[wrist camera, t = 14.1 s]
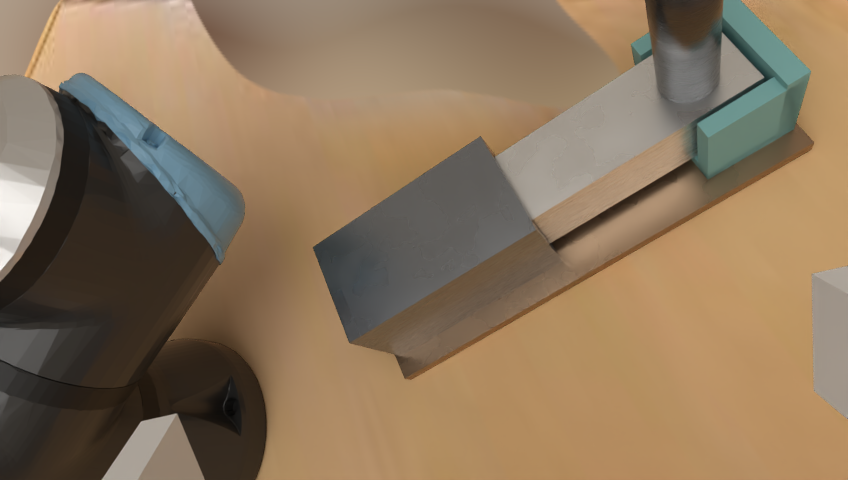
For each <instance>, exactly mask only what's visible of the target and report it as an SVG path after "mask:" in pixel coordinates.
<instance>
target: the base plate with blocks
mask: <svg viewBox="0 0 848 480" xmlns="http://www.w3.org/2000/svg"><path fill="white" fill-rule="evenodd" d="M813 144H814V142H813V141H812V140H811V139H810V137H809V136H808V135H807V134H806V133H805V132H804V131H803V130H802V129H801V128H800V127H799V126H798V125H797V123H796V125H795V128H794V130H792V131H790V132H788V133H787V134H785V135H783V136H782V137H780V138H778V139H776V140H775V141H773V142H771V143H770V144H768V145H766V146H765V147H763V148H761V149H759V150H758V151H756V152H754V153H753V154H751V155H749V156H747V157H746V158H744V159H742V160H741V161H739V162H737V163H736V164H734V165H732V166H730V167H729V168H727V169H725V170H724V171H722V172H720V173H718V174H717V175H715V176H713V177H712V178H710V179H708V180H707V178H706V177H705V176H704V174H703V173H702V172H701V171H700V169H699V168H698V167H697V166H696V164H695V163H694V162H693V161H692V159H690V160H689V161H687V162H685V163H683V164H682V165H680V166H678V167H677V168H675V169H673V170H672V171H670V172H668V173H667V174H665V175H663V176H662V177H660V178H658V179H657V180H655V181H653V182H652V183H650V184H648V185H647V186H645V187H643V188H642V189H640V190H638V191H637V192H635V193H633V194H632V195H630V196H628V197H627V198H625V199H623V200H622V201H620V202H618V203H617V204H615V205H613V206H612V207H610V208H608V209H607V210H605V211H603V212H602V213H600V214H598V215H597V216H595V217H593V218H592V219H590V220H588V221H587V222H585V223H583V224H582V225H580V226H578V227H577V228H575V229H573V230H572V231H570V232H568V233H567V234H565V235H563V236H562V237H560V238H558V239H556V240H555V241H553V242H551V243H549V241H548V240H547V239H546V238H545V237H544V235H543V234H542V233H541V232H540V230H539V229H538V228H537V227H536V225H535V224H534V223H533V222H532V220H531V218H530V217H529V215H528V213H527V212H526V210H525V208H524V207H523V205H522V203H521V201H520V200H519V198H518V196H517V195H516V193H515V191H514V190H513V188H512V186H511V185H510V183H509V181H508V180H507V178H506V176H505V175H504V173H503V171H502V170H501V168H500V166H499V165H498V163H497V161H496V160H495V158H494V157H495V155H494V153H493V152H492V151H491V149H490V148H489V147H488V145H487V144H486V143H485V141H484V140H483V139H482V137H481V136H480V137H479V138H477V139H476V140H474V141H473V142H471V143H469V144H468V145H466V146H465V147H463V148H462V149H460V150H459V151H457V152H456V153H454V154H453V155H451V156H450V157H448V158H447V159H445V160H444V161H442V162H441V163H439V164H438V165H436V166H435V167H433V168H432V169H430V170H429V171H427V172H426V173H424V174H423V175H421V176H420V177H418V178H417V179H415V180H414V181H412V182H411V183H409V184H408V185H406V186H405V187H403V188H402V189H400V190H399V191H397V192H396V193H394V194H393V195H391V196H389V197H388V198H386V199H385V200H383V201H382V202H380V203H379V204H377V205H376V206H374V207H373V208H371V209H370V210H368V211H367V212H365V213H364V214H362V215H361V216H359V217H358V218H356V219H355V220H353V221H352V222H350V223H349V224H347V225H346V226H344V227H343V228H341V229H340V230H338V231H337V232H335V233H334V234H332V235H331V236H329V237H328V238H326V239H325V240H323V241H322V242H320V243H319V244H317V245H316V246H314V247H313V249H314V252H315V254H316V257H317V260H318V262H319V265H320V267H321V270H322V273H323V275H324V278H325V281H326V283H327V286H328V288H329V291H330V294H331V296H332V299H333V301H334V304H335V307H336V309H337V312H338V314H339V317H340V320H341V322H342V325H343V327H344V330H345V333H346V335H347V338H348V341H349V343H351V344H355V345H359V346H363V347H367V348H371V349H375V350H379V351H383V352H387V353H391V354H395V356H396V358H397V361H398V363H399V366H400V368H401V370H402V373H403V375H404V378H405V379H410V380H411V379H413V378H415V377H417V376H418V375H420V374H422V373H424V372H425V371H427V370H429V369H431V368H432V367H434V366H436V365H437V364H439V363H441V362H443V361H444V360H446V359H448V358H450V357H451V356H453V355H455V354H457V353H458V352H460V351H462V350H464V349H465V348H467V347H469V346H471V345H472V344H474V343H476V342H477V341H479V340H481V339H483V338H484V337H486V336H488V335H490V334H491V333H493V332H495V331H497V330H498V329H500V328H502V327H504V326H505V325H507V324H509V323H511V322H512V321H514V320H516V319H518V318H519V317H521V316H523V315H524V314H526V313H528V312H530V311H531V310H533V309H535V308H537V307H538V306H540V305H542V304H544V303H545V302H547V301H549V300H551V299H552V298H554V297H556V296H558V295H559V294H561V293H563V292H564V291H566V290H568V289H570V288H571V287H573V286H575V285H577V284H578V283H580V282H582V281H584V280H585V279H587V278H589V277H591V276H592V275H594V274H596V273H598V272H599V271H601V270H603V269H604V268H606V267H608V266H610V265H611V264H613V263H615V262H617V261H618V260H620V259H622V258H624V257H625V256H627V255H629V254H631V253H632V252H634V251H636V250H638V249H639V248H641V247H643V246H644V245H646V244H648V243H650V242H651V241H653V240H655V239H657V238H658V237H660V236H662V235H664V234H665V233H667V232H669V231H671V230H672V229H674V228H676V227H678V226H679V225H681V224H683V223H684V222H686V221H688V220H690V219H691V218H693V217H695V216H697V215H698V214H700V213H702V212H704V211H705V210H707V209H709V208H711V207H712V206H714V205H716V204H718V203H719V202H721V201H723V200H725V199H726V198H728V197H730V196H731V195H733V194H735V193H737V192H738V191H740V190H742V189H744V188H745V187H747V186H749V185H751V184H752V183H754V182H756V181H758V180H759V179H761V178H763V177H765V176H766V175H768V174H770V173H771V172H773V171H775V170H777V169H778V168H780V167H782V166H784V165H785V164H787V163H789V162H791V161H792V160H794V159H796V158H798V157H799V156H801V155H803V154H805V153H806V152H808V151H810V150H811V149H812V147H813Z"/></svg>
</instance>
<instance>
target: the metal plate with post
mask: <svg viewBox="0 0 848 480" xmlns="http://www.w3.org/2000/svg"><path fill="white" fill-rule="evenodd" d="M645 3H646V10H647V18H648V25H649V32H650V39H651V47H652V55H651V56H649V57H648V58H646V59H645V60H643V61H642V62H640V63H639V64H637V65H636V66H634V67H632V68H631V69H629V70H628V71H626V72H625V73H623V74H622V75H620V76H619V77H617V78H616V79H614V80H612V81H611V82H610V83H608V84H606V85H605V86H603V87H602V88H600V89H599V90H597V91H596V92H594V93H592V94H591V95H590V96H588V97H586V98H585V99H583V100H582V101H580V102H579V103H577V104H576V105H574V106H572V107H571V108H569V109H568V110H566V111H565V112H563V113H562V114H560V115H559V116H557V117H555V118H554V119H552V120H551V121H549V122H548V123H546V124H545V125H543V126H542V127H540V128H539V129H537V130H535V131H534V132H532V133H531V134H529V135H528V136H526V137H525V138H523V139H522V140H520V141H519V142H517V143H515V144H514V145H512V146H511V147H509V148H508V149H506V150H505V151H503V152H502V153H500V154H499V155H497V156H495V157H494V158H495V160H496V161H497V163H498V165H499V166H500V168H501V170H502V171H503V173H504V175H505V176H506V178H507V180H508V181H509V183H510V185H511V186H512V188H513V190H514V191H515V193H516V195H517V196H518V198H519V200H520V201H521V203H522V205H523V207H524V208H525V210H526V212H527V213H528V215H529V217H530V218H531V220H532V222H533V223H534V224H535V225H536V227H537V228H538V229H539V230H540V232H541V233H542V234H543V235H544V237H545V238H546V239H547V240H548V241H549V243H551V242H553V241H555V240H556V239H558V238H560V237H562V236H563V235H565V234H567V233H568V232H570V231H572V230H573V229H575V228H577V227H578V226H580V225H582V224H583V223H585V222H587V221H588V220H590V219H592V218H593V217H595V216H597V215H598V214H600V213H602V212H603V211H605V210H607V209H608V208H610V207H612V206H613V205H615V204H617V203H618V202H620V201H622V200H623V199H625V198H627V197H628V196H630V195H632V194H633V193H635V192H637V191H638V190H640V189H642V188H643V187H645V186H647V185H648V184H650V183H652V182H653V181H655V180H657V179H658V178H660V177H662V176H663V175H665V174H667V173H668V172H670V171H672V170H673V169H675V168H677V167H678V166H680V165H682V164H683V163H685V162H687V161H689V160H690V159H692V158H694V157H695V156H697V155H698V150H697V124H698V123H699V122H701V121H702V120H704V119H706V118H707V117H709V116H711V115H712V114H714V113H716V112H717V111H719V110H720V109H722V108H724V107H725V106H727V105H729V104H730V103H732V102H734V101H735V100H737V99H738V98H740V97H742V96H743V95H745V94H747V93H748V92H750V91H752V90H753V89H755V88H756V87H758V86H760V85H761V84H763V83H764V76H763V75H762V74H761V73H760V72H759V71H758V70H757V69H756V68H755V67H754V66H753V65H752V64H751V63H750V61H749V60H748V59H747V58H746V57H745V56H744V55H743V54H742V53H741V52H740V51H739V50H738V49H737V48H736V47H735V46H734V44H733V43H732V42H731V41H730V40H729V39H728V38H727V37H726V36H725V35H724V34H723V33H722V20H723V0H645Z"/></svg>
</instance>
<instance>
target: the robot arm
mask: <svg viewBox="0 0 848 480" xmlns="http://www.w3.org/2000/svg"><path fill="white" fill-rule="evenodd" d="M59 88H60V89H59V93H58V92H56V91H54V90H52V89H51V88H49V87H47V86H45V85H43V84H41V83H39V82H37V81H35V80H33V79H30V78H27V77H24V76H20V75H4V76H0V480H255V478H256V476H257V473H258V470H259V467H260V464H261V460H262V456H263V451H264V445H265V435H266V417H265V408H264V402H263V397H262V393H261V390H260V387H259V385H258V382H257V380H256V378H255V376H254V374H253V372H252V370H251V369H250V367H249V366H248V365H247V363H246V362H245V361H244V360H243V359H242V358H241V357H240V356H239V355H238V354H237V353H236V352H234V351H233V350H231V349H229V348H228V347H226V346H223V345H221V344H218V343H213V342H208V341H202V340H197V339H176V340H172V341H167V340H168V339H169V337H170V336H171V334H172V333H173V331H174V330H175V328H176V327H177V325H178V324H179V322H180V321H181V320H182V318H183V317H184V315H185V314H186V312H187V311H188V309H189V308H190V306H191V305H192V303H193V302H194V301H195V299H196V298H197V296H198V295H199V293H200V292H201V290H202V289H203V287H204V286H205V284H206V283H207V281H208V280H209V279H210V277H211V276H212V274H213V273H214V271H215V270H216V268H217V267H218V265H221V263H222V262H223V260H224V259H225V254H224V253H225V251H226V250H227V248H228V246H229V244H230V243H231V241H232V239H233V237H234V236H235V234H236V232H237V230H238V229H239V227H240V225H241V224H242V222H243V219H244V215H245V202H244V199H243V196H242V194H241V192H240V191H239V190H238V188H237V187H236V186H234V185H233V184H232V183H231V182H230V181H228V180H227V179H226V178H225V177H223V176H222V175H221V174H220V173H218V172H217V171H216V170H214V169H213V168H212V167H210V166H209V165H208V164H207V163H205V162H204V161H203V160H201V159H200V158H199V157H197V156H196V155H195V154H193V153H192V152H191V151H189V150H188V149H187V148H185V147H184V146H183V145H181V144H180V143H179V142H177V141H176V140H175V139H173V138H172V137H171V136H169V135H168V134H167V133H165V132H164V131H162V130H161V129H160V128H159V127H158V126H156V125H155V124H154V123H152V122H151V121H149V120H148V119H147V118H145V117H144V116H143V115H142V114H141V113H139V112H138V111H137V110H135V109H134V108H133V107H131V106H130V105H129V104H127V103H126V102H125V101H123V100H122V99H121V98H119V97H118V96H117V95H115V94H114V93H113V92H111V91H110V90H109V89H107V88H106V87H105V86H103V85H102V84H101V83H99V82H98V81H96V80H95V79H94V78H92V77H91V76H89V75H87V74H85V73H78V74H75V75H73V76H72V78H70V79H69V80H68V81H64V83H61V84H60V86H59ZM812 313H813V372H814V391H815V392H816V393H817V394H818V395H819V396H821V397H822V398H823V399H824V400H825V401H826V402H828V403H829V404H830V405H831V406H832V407H834V408H835V409H836V410H837V411H838V412H840V413H841V414H842V415H843V416H844V417H846V418H847V419H848V266H845V267H841V268H836V269H832V270H827V271H822V272H818V273H813V274H812ZM166 341H167V342H166Z"/></svg>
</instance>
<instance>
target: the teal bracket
mask: <svg viewBox="0 0 848 480" xmlns="http://www.w3.org/2000/svg"><path fill="white" fill-rule="evenodd" d="M722 33H723V34H724V35H725V36H726V37H727V38H728V39H729V40H730V41H731V42H732V43H733V44H734V46H735V47H736V48H737V49H738V50H739V51H740V52H741V53H742V54H743V55H744V56H745V57H746V58H747V59H748V60H749V61H750V63H751V64H752V65H753V66H754V67H755V68H756V69H757V70H758V71H759V72H760V73H761V74H762V75H763V76H764V83H763V84H761V85H760V86H758V87H756V88H755V89H753V90H752V91H750V92H748V93H747V94H745V95H743V96H742V97H740V98H738V99H737V100H735V101H734V102H732V103H730V104H729V105H727V106H725V107H724V108H722V109H720V110H719V111H717V112H716V113H714V114H712V115H711V116H709V117H707V118H706V119H704V120H702V121H701V122H699V123H698V124H697V150H698V155H697V156H695V157H694V158H692V161H693V162H694V163H695V164H696V166H697V167H698V168H699V169H700V171H701V172H702V173H703V174H704V176H705V177H706V178H707V180H708V179H710V178H712V177H713V176H715V175H717V174H718V173H720V172H722V171H724V170H725V169H727V168H729V167H730V166H732V165H734V164H736V163H737V162H739V161H741V160H742V159H744V158H746V157H747V156H749V155H751V154H753V153H754V152H756V151H758V150H759V149H761V148H763V147H765V146H766V145H768V144H770V143H771V142H773V141H775V140H776V139H778V138H780V137H782V136H783V135H785V134H787V133H788V132H790V131H792V130H794V128H795V125H796V121H797V118H798V114H799V111H800V108H801V104H802V101H803V97H804V94H805V91H806V87H807V84H808V80H809V77H810V74H811V71H810V70H809V69H808V68H807V67H806V66H805V65H804V64H803V63H802V62H801V61H800V60H799V59H798V58H797V57H796V56H795V55H794V54H793V53H792V52H791V51H790V50H789V49H788V48H787V47H786V46H785V45H784V44H783V43H782V42H781V41H780V40H779V39H778V38H777V37H776V36H775V35H774V34H773V33H772V32H771V31H770V30H769V29H768V28H767V27H766V26H765V25H764V24H763V22H762V21H761V20H760V19H759V18H758V17H757V16H756V15H755V14H754V13H753V12H752V11H751V10H750V9H749V8H748V7H747V6H746V5H745V4H744V3H743V2H742V1H741V0H723V20H722ZM631 47H632V52H633V57H634V63H635V66H636V65H637V64H639V63H640V62H642V61H643V60H645V59H646V58H648V57H649V56H651V55H652V47H651V39H650V32H649V33H647V34H646V35H644V36H643V37H641V38H640V39H638V40H637V41H635V42H634V43H632V44H631Z"/></svg>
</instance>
